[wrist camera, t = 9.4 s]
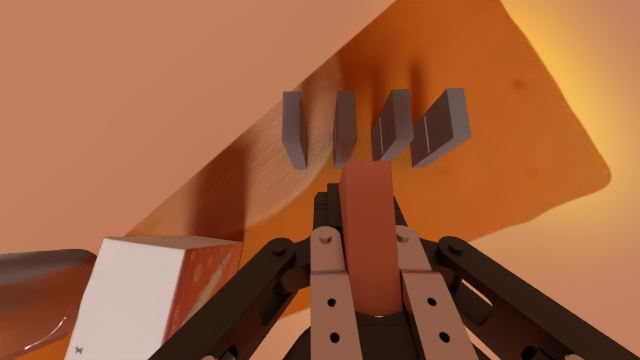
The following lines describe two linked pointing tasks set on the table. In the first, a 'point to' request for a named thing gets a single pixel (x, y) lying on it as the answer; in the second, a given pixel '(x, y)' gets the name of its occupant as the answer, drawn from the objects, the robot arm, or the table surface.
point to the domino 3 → (370, 237)
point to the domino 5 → (440, 128)
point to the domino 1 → (294, 129)
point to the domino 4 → (393, 127)
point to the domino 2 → (344, 128)
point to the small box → (147, 293)
